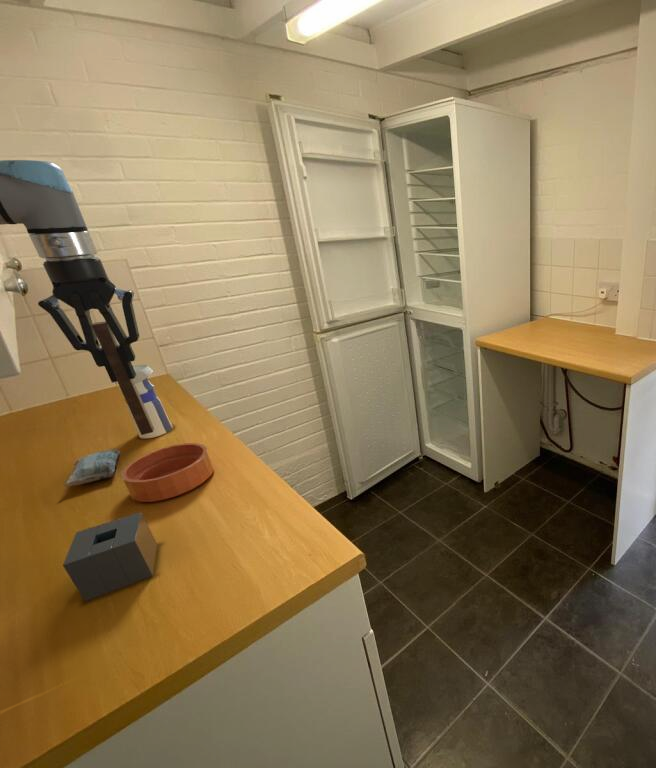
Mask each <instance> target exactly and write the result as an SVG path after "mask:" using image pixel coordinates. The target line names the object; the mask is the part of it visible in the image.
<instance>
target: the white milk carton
mask: <svg viewBox="0 0 656 768" xmlns="http://www.w3.org/2000/svg"><path fill="white" fill-rule="evenodd" d="M132 366H133V368H134V370H135V373H136V376H135V378H134V379H133V381H134V383H135V386H136V388H137V390H138V392H139V395H140V397H141V399H142V402H143V404H144V406H145V408H146V411H147V413H148V415H149V418H150V420H151V422H152V425H153V427H154V431H153V432H152V433H148V434H143V435H141V433H140V431H139V428H138V426H137V424H136V422H135V420H134V417H133V415H132V413H131V411H130V409H129V406H128V404H127V402H126V400H125V399H124V402H125V404H126V405H127V410H128V412H129V415H130V417H131V419H132V422H133V424H134V426H135V430H136V432H137V435H138V438H140V439H151V438H157V437H160V436H163V435H165V434H167V433H169V432H170V431H172V429H173V425H172V423H171V421H170V419H169V417H168V414H167V412H166V410H165V408H164V405H163V404H162V401H161V400H160V398H159V397H158V396H157V394H156V392H155V389H154V388H155V384H152V383H151V382H150V380H149V377H150V376H151V375H152V374H153V373H154V370H153V369H152V368H151V367H150V366H149V365H147V364H132ZM114 383H115V385H116V386H118V382H114ZM121 395H122V396H124V395H123V393H122V392H121Z"/></svg>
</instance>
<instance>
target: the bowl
mask: <svg viewBox="0 0 656 768" xmlns="http://www.w3.org/2000/svg"><path fill="white" fill-rule="evenodd" d="M214 469H215V466H214V462H213V460H212V457H211V455H210V453H209V450H208V448H207V447H206V446H205V445H204V444H202V443H198V442H184V443H177V444H172V445H168V446H165V447H161V448H158V449H156V450H153V451H150V452H148V453H146V454H144V455H142V456H139V457H138V458H136V459H135V460H132V461H131V462H130V463H128V464H127V465H126V466H125V467H124V468H123V469H122V471H121V474H120V478H121V480H122V482H123V484H124V487H125V489H126V490H127V492H128V494H129V497H130V498H131V499H132V500H133V501H137V502H139V503H153V502H158V501H164V500H168V499H171V498H174V497H177V496H180V495H183V494H185V493H187V492H189V491H192V490H193V489H195V488H197V487H199V486H200V485H202V484H203V483H205V481H206V480H207V479H209V478H210V477H211V476H212V474H213V473H214Z"/></svg>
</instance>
